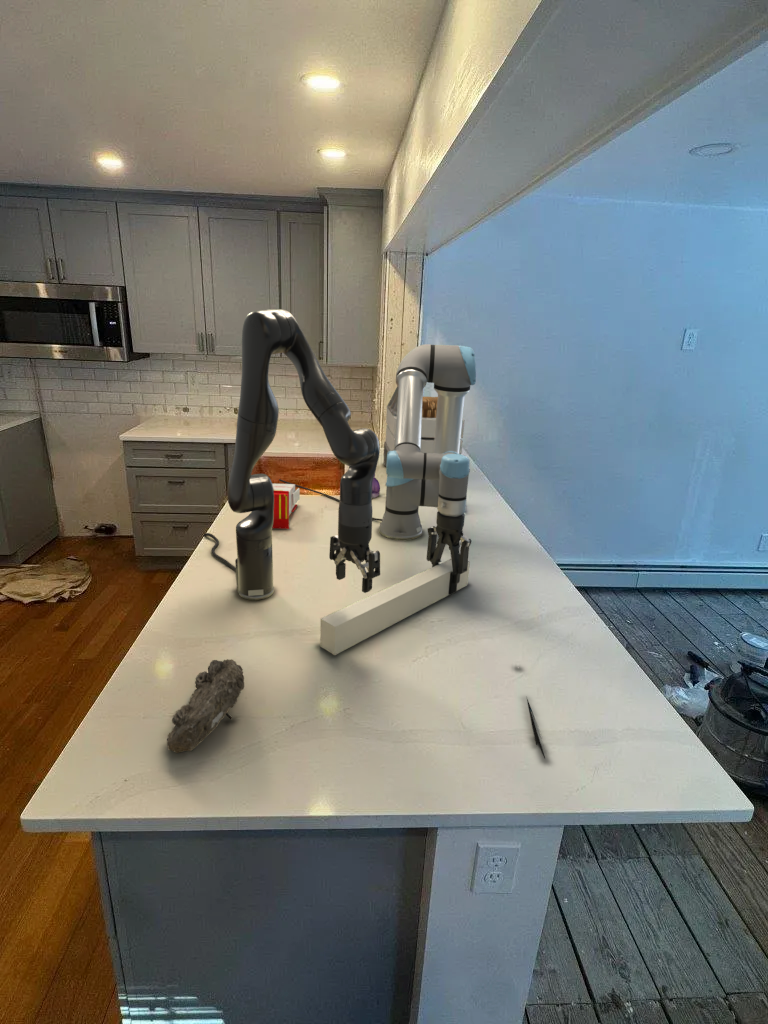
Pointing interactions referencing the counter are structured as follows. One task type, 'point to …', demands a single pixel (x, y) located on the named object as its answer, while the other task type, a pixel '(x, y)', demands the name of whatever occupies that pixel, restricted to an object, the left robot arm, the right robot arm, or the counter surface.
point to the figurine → (375, 487)
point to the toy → (284, 504)
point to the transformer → (426, 430)
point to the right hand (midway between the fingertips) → (444, 588)
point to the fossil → (206, 705)
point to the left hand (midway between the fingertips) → (353, 584)
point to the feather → (535, 728)
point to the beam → (386, 607)
